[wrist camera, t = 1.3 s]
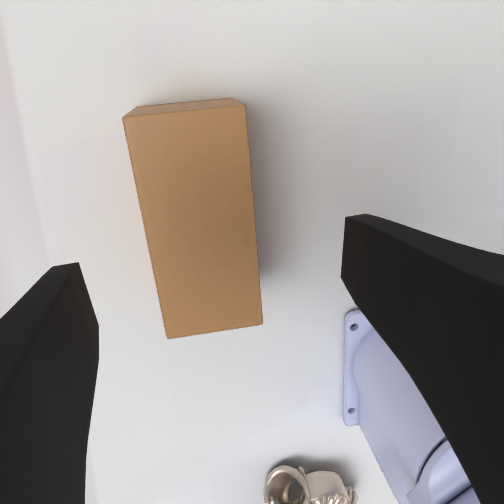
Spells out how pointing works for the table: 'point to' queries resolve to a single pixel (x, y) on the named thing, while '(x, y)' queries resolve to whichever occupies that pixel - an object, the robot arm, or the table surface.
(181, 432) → the table surface
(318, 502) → the ornament
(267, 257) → the table surface
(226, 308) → the cardboard box
